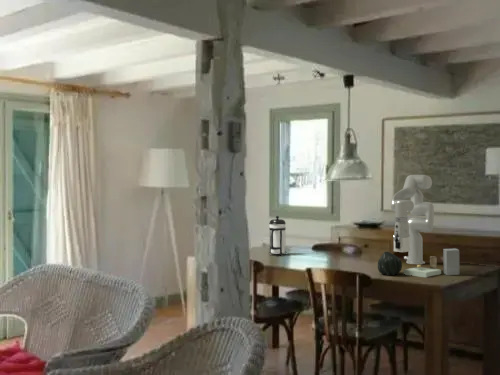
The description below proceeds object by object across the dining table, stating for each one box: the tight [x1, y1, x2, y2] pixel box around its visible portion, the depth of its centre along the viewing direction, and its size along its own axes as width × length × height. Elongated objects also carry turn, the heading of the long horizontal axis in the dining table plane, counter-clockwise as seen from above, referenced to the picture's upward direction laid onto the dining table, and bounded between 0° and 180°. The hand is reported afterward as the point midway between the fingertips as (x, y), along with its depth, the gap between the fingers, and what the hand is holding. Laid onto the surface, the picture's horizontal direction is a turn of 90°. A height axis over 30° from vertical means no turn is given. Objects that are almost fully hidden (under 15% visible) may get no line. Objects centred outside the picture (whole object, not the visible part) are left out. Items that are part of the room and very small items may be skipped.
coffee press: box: [268, 215, 287, 256], centre depth 486 cm, size 17×16×30 cm
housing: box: [393, 237, 409, 253], centre depth 403 cm, size 7×7×9 cm
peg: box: [429, 255, 438, 269], centre depth 398 cm, size 4×4×10 cm
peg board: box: [403, 266, 442, 278], centre depth 390 cm, size 16×16×3 cm
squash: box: [377, 251, 403, 276], centre depth 392 cm, size 14×15×15 cm
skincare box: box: [442, 247, 460, 276], centre depth 390 cm, size 8×7×16 cm
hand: (401, 247), depth 403 cm, fingers closed on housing, 7 cm apart
